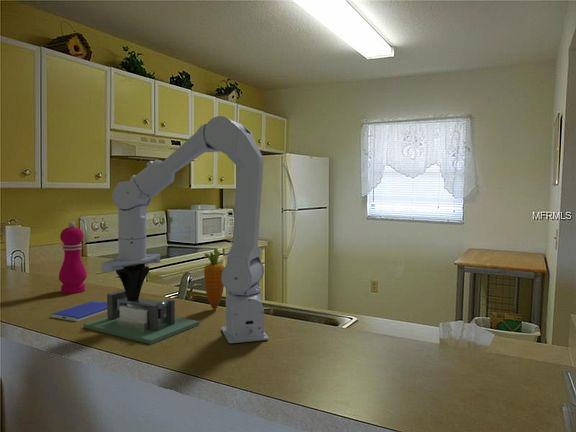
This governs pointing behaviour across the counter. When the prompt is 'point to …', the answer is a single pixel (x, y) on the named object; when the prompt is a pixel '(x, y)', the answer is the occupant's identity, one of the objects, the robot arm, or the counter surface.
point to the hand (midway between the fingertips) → (132, 299)
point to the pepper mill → (72, 261)
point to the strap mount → (153, 310)
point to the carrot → (213, 279)
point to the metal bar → (141, 303)
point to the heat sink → (138, 317)
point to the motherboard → (147, 336)
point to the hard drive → (82, 311)
